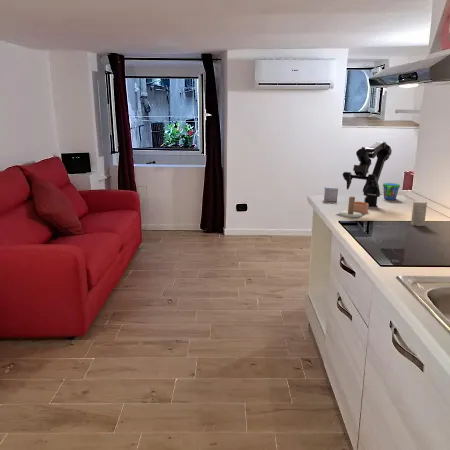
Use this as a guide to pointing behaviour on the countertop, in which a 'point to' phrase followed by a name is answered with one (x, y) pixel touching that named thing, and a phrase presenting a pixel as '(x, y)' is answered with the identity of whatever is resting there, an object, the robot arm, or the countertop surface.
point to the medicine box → (330, 194)
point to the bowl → (361, 207)
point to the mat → (351, 217)
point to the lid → (350, 209)
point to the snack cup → (390, 190)
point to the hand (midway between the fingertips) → (355, 190)
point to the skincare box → (418, 213)
